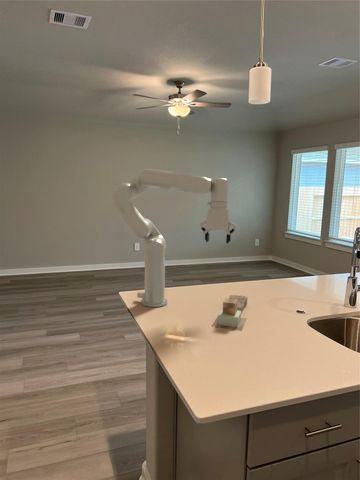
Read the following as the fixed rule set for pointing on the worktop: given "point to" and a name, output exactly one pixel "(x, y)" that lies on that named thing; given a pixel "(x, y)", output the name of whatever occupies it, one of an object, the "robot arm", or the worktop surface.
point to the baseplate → (230, 326)
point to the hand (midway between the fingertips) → (217, 242)
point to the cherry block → (229, 307)
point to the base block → (229, 319)
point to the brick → (240, 301)
